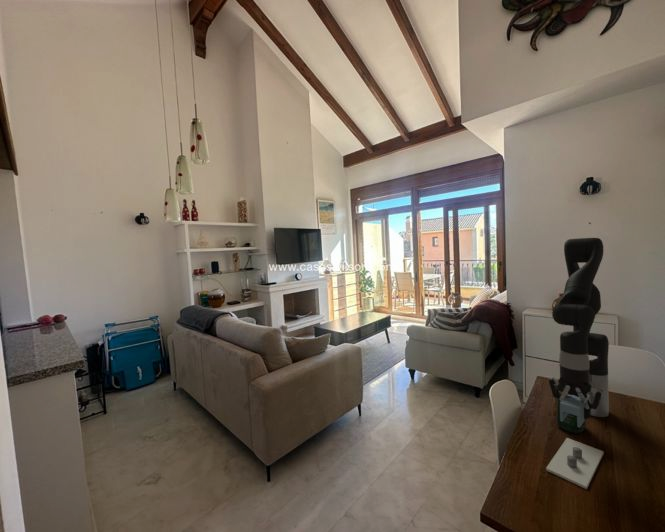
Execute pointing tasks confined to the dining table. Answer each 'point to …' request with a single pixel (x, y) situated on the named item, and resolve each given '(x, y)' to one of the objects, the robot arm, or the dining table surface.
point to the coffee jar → (568, 418)
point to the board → (582, 464)
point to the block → (572, 408)
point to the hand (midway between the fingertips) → (575, 414)
